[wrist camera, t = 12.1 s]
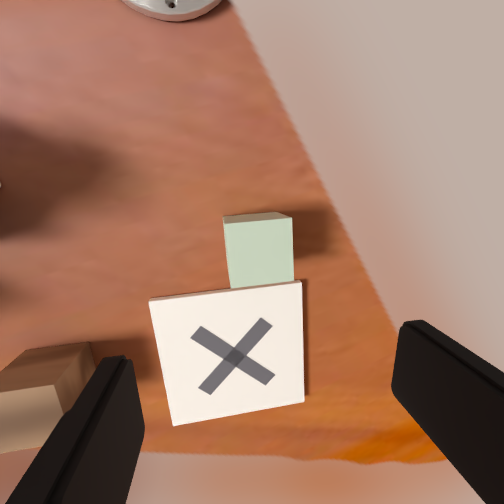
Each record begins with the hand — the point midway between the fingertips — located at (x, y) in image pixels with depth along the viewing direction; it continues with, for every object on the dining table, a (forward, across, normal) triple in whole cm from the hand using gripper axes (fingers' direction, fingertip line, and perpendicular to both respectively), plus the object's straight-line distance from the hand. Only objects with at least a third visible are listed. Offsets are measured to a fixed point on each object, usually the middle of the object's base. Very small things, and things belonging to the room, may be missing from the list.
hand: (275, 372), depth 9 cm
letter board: (+18, +1, +13) cm, 22 cm away
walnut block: (+18, +19, +12) cm, 29 cm away
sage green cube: (+18, -2, 0) cm, 18 cm away
